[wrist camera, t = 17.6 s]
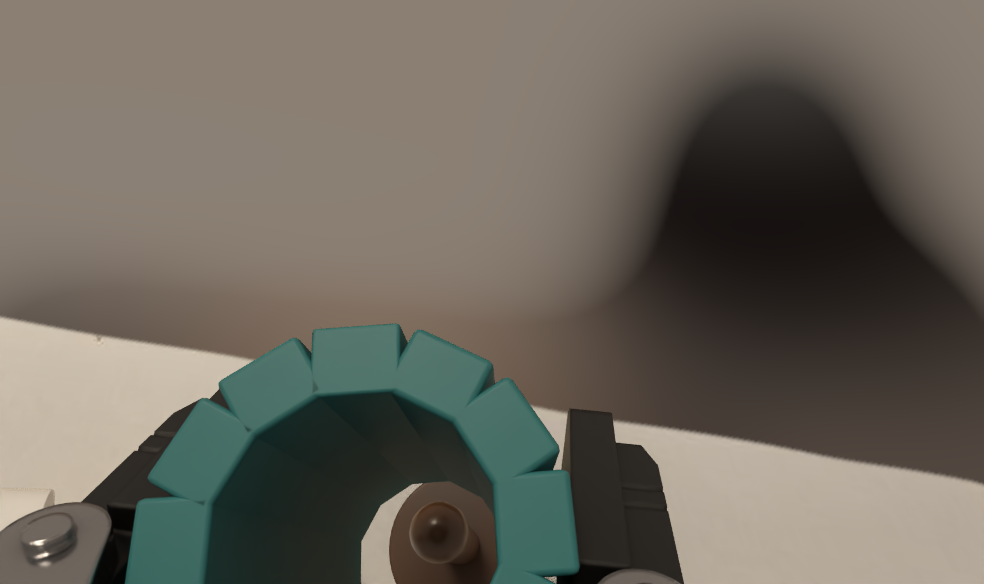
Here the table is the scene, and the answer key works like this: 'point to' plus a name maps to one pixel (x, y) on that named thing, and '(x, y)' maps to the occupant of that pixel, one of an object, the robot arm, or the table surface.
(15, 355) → the table surface
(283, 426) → the teal ridged hollow cylinder
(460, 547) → the spool stand
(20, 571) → the robot arm
